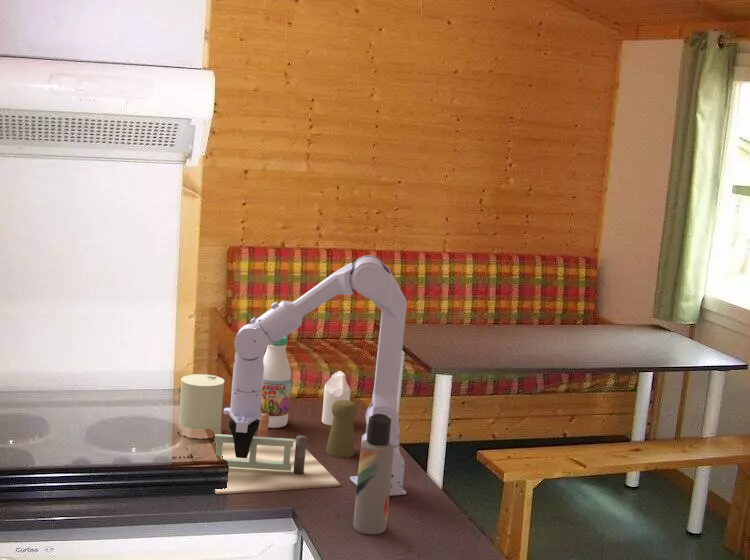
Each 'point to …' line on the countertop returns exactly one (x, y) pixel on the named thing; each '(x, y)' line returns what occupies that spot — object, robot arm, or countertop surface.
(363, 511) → the lotion bottle
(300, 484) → the base
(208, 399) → the can
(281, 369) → the milk bottle
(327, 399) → the white chalk piece
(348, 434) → the cork
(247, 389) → the robot arm
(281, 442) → the bar
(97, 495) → the countertop surface
